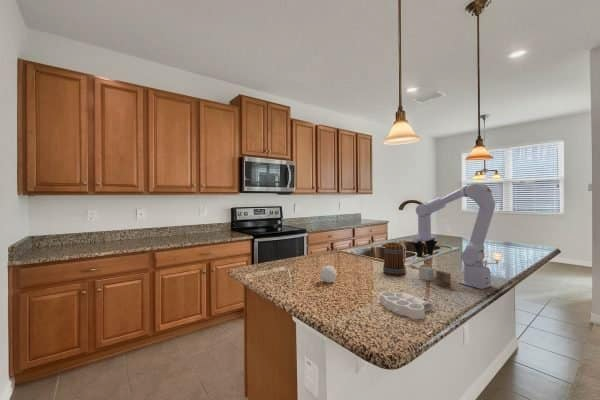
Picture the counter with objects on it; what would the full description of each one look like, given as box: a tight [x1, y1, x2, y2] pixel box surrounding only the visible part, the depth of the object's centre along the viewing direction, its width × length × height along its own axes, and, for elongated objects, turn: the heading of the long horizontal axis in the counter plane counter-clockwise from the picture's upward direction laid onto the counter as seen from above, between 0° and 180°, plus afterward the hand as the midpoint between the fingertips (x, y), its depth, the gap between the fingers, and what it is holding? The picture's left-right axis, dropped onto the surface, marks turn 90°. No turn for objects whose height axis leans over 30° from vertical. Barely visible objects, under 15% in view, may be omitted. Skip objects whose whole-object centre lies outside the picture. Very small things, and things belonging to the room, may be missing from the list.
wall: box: [435, 269, 452, 289], centre depth 116 cm, size 6×2×6 cm, turn 28°
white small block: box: [418, 266, 435, 282], centre depth 128 cm, size 5×4×5 cm
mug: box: [382, 241, 406, 277], centre depth 140 cm, size 16×11×15 cm
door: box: [434, 266, 439, 277], centre depth 125 cm, size 12×2×4 cm, turn 158°
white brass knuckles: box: [379, 291, 433, 320], centre depth 95 cm, size 3×18×15 cm
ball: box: [319, 265, 338, 284], centre depth 126 cm, size 8×8×8 cm
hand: (425, 255), depth 135 cm, fingers open, 7 cm apart
